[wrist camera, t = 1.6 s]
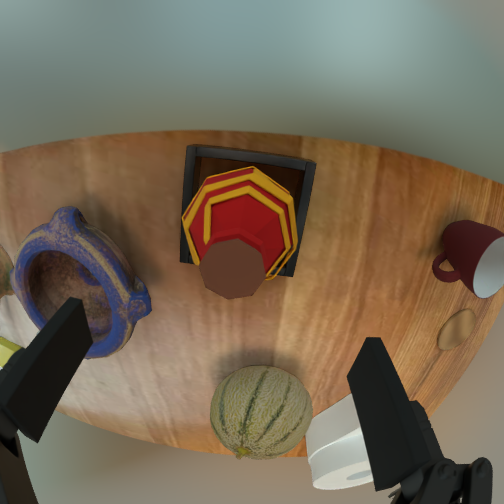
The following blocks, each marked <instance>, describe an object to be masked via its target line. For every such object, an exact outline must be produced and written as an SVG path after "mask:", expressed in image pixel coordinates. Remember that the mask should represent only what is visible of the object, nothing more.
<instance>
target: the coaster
mask: <svg viewBox="0 0 504 504" xmlns="http://www.w3.org/2000/svg"><path fill="white" fill-rule="evenodd" d="M475 322H476V315H475V313H474V312H473V311H472V310H470V309H464V310H461V311H459V312H457V313H456V314H454V315H453V316H452V317H451V318H450V319H449V320H448V321H447V322H446V323H445V324H444V326H443V327H442V329H441V330H440V332H439V335H438V338H437V343H438V346H439V347H440V348H441V349H443V350H450V349H453V348H455V347H457V346H458V345H460V344H461V343H462V342H463V341H464V340H465V339H466V338H467V337H468V336H469V335H470V333H471V332H472V330H473V328H474V326H475Z"/></svg>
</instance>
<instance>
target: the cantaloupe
mask: <svg viewBox="0 0 504 504" xmlns="http://www.w3.org/2000/svg"><path fill="white" fill-rule="evenodd" d="M312 413H313V408H312V401H311V397H310V394H309V393H308V391H307V390H306V388H305V387H304V385H303V384H302V383H301V382H300V381H299V380H298V378H297V377H295V376H294V375H292V374H290V373H288V372H286V371H284V370H282V369H280V368H275V367H271V366H266V365H255V366H249V367H244V368H242V369H239V370H237V371H236V372H233V373H232V374H230V375H229V376H228V377H226V378H225V379H224V380H223V381H222V382H221V383H220V384H219V386H218V387H217V389H216V391H215V393H214V395H213V398H212V401H211V409H210V421H211V425H212V428H213V431H214V433H215V435H216V437H217V438H218V439H219V440H220V441H221V443H222V444H223V445H224V446H225V447H226V448H228V449H229V450H230V451H232V452H234V453H235V454H237V455H236V458H237V459H241V458H242V456H245V457H248V458H251V459H273V458H277V457H279V456H281V455H284V454H285V453H287V452H289V451H290V450H292V449H293V448H294V447H295V446H296V445H298V443H299V442H300V441H301V439H302V438H303V436H304V435H305V434H306V432H307V430H308V428H309V426H310V424H311V421H312V417H313V416H312Z"/></svg>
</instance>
